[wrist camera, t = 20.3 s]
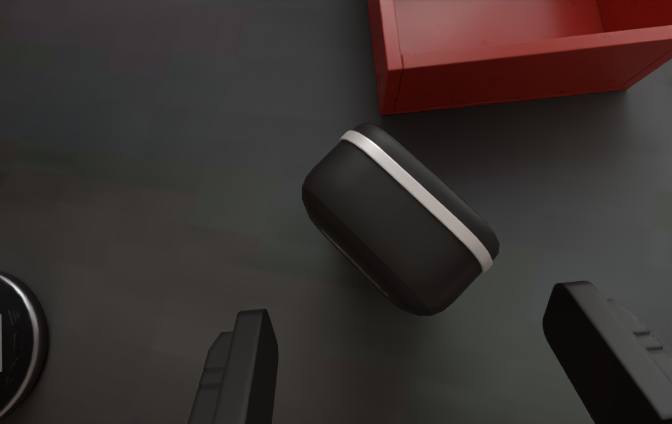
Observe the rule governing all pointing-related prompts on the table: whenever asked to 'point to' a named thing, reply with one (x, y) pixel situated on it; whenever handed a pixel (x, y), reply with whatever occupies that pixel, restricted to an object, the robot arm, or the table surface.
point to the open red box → (512, 49)
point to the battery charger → (397, 221)
